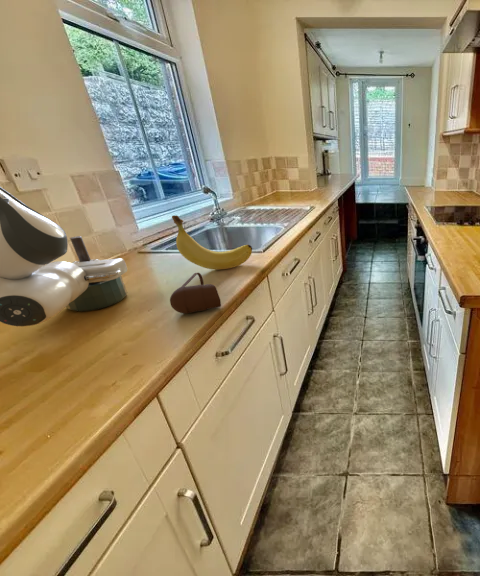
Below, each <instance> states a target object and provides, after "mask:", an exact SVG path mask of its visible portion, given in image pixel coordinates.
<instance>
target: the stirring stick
mask: <svg viewBox="0 0 480 576" xmlns="http://www.w3.org/2000/svg"><path fill="white" fill-rule="evenodd" d="M69 240H70V242H71V244H72V247H73V249H74V252H75V254H76V256H77V259H78V261H80V262H87V261H90V260H92V259H91V256H90V254H89V252H88V250H87V247H86V244H85V242H84V239H83V237H82V236H79V235H77V236H71V237H70V238H69ZM98 283H100V282H92V283H89V285H94V284H98Z"/></svg>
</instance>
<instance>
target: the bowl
mask: <svg viewBox="0 0 480 576" xmlns="http://www.w3.org/2000/svg"><path fill="white" fill-rule="evenodd" d="M126 296H128V291H127V288H126V285H125V282H124V280H123V277H122V275H121V276H120V277H118V278H116V279H113V280H108V281H100V283H98V284H94V285H88V287H87V289H86V290H85V291H84V292H83V293H82V294H81V295H79V296H78V297H77V298H76V299H75V300H73V301H72V302H70V303H69V304H68V305H67V306H66V307H65V309H67V310H70V311H74V312H89V311H96V310H101V309H104V308H108V307H110V306H113V305H115V304H118V303H119V302H121V301H122V300H123V299H124V298H125V297H126Z"/></svg>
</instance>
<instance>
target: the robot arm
mask: <svg viewBox="0 0 480 576" xmlns="http://www.w3.org/2000/svg"><path fill="white" fill-rule="evenodd" d="M68 243H69V241H68V236H67V233H66V231H65V230H64V229H63V228H62V227H61V226H60V225H58V223H56V222H54V220H51V218H48V217H47V216H45V215H43V214H42V213H40V212H38V211H36V210H35V209H33V208H31V207H29V206H28V205H26V204H25V203H24V202H22V200H20V199H19V198H17V197H15V196H14V195H13V194H12V193H10V192H8V191H7V190H6V189H4V188H3V187H1V186H0V323H2V324H5V325H7V326H12V327H30V326H37V325H39V324H42V323H45V322H47V321H48V320H51V319H52V318H54V317H55V316H57V315H58V314H59V313H61V312H62V311H64V309H66V306H67V305H68V304H69V303H70V302H72V301H73V300H75V299H76V298H77V297H78V296H79V295H81V294H82V293H83V292H84V291H85V290H86V289H87V287H88V285H89V283H92V282H100V281H108V280H113V279H116V278H118V277H120V276H121V277H122V276H123V275H124V274H126V273H127V272H128V266H127V263H126V261H125V259H124V258H121V257H118V258H107V259H99V258H93V259H91V260H90V261H87V262H80V261H79V260H75V261H73V262H70V261H68V262H67V261H64V260H63V261H62V260H59V261H57V260H58V259H60V258H61V257H63V256H65V255H66V254H67V252H68V247H69V246H68Z"/></svg>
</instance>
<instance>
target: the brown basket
mask: <svg viewBox="0 0 480 576" xmlns="http://www.w3.org/2000/svg"><path fill="white" fill-rule="evenodd" d="M196 276H198V278H199V283H200V284H195V285H188V284H190V282H192V280H193V279H194V278H195V277H196ZM187 285H188V286H187ZM221 302H222V301H221V297H220V295H219V292H218V289H217V287H216V286H215V285H214V284H211V283H208V284H205V283H204V279H203V276H202V273H201V272H195V273H193V274H192V275H191V276H190V277H189V278H188V279H187V280H186V282H184V283H183V284H182V285H180V287H178V288H177V289H175V290H174V291H173V292H172V293H171V295H170V298H169V304H170V306H171V308H172V309H173V310H174V311H176V312H177V313H180V314H191V313H196V312H202V311H207V310H210V309H214V308H215V309H216V308H220V307H222V303H221Z"/></svg>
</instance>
